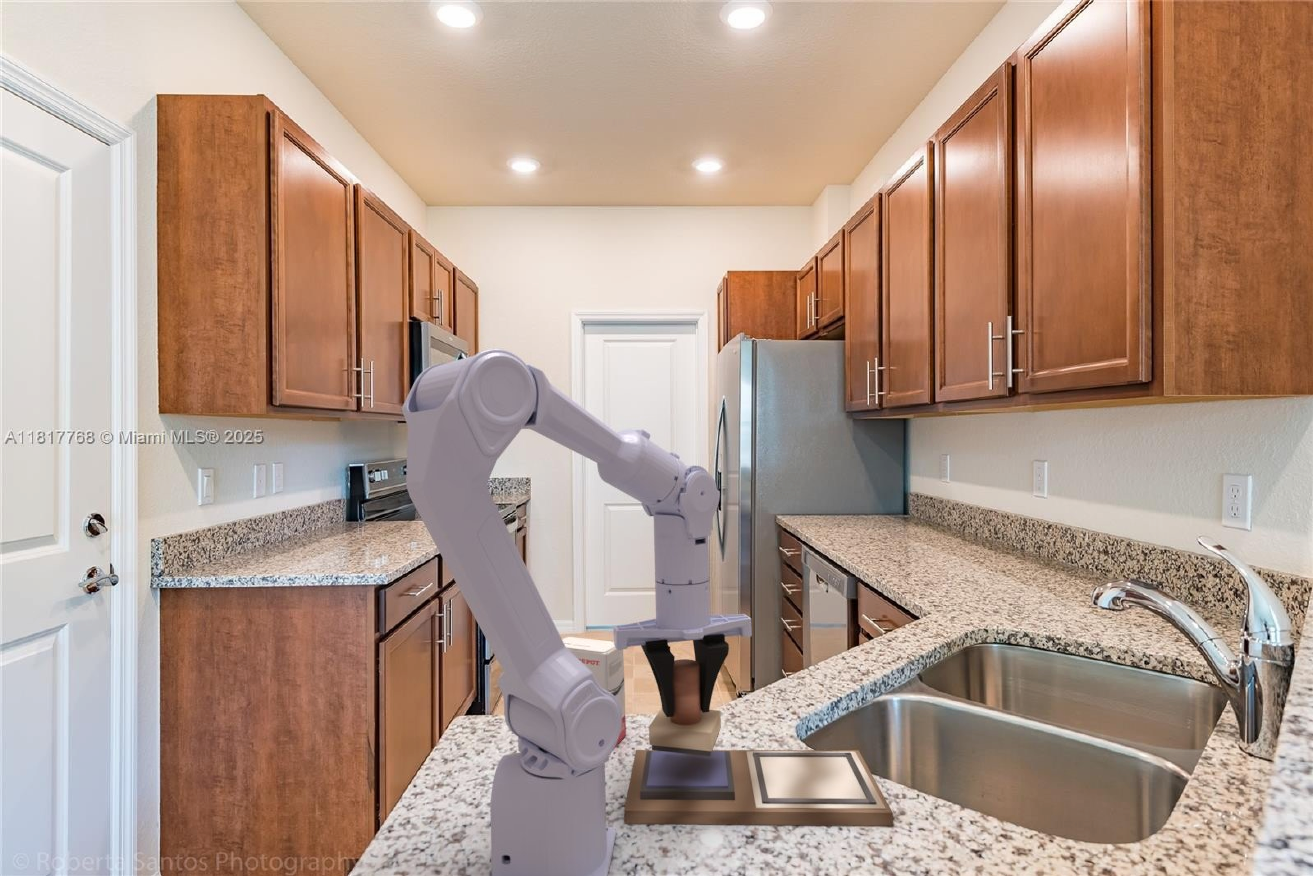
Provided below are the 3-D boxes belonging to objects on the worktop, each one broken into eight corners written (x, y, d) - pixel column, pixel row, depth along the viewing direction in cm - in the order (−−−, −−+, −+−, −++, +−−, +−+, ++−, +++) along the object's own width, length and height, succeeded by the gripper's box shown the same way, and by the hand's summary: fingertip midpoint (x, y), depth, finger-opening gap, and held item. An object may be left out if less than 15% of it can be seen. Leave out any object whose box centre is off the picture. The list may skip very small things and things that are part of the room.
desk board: (624, 823, 58) (623, 799, 59) (636, 760, 70) (635, 740, 70) (893, 826, 57) (892, 801, 57) (858, 761, 69) (858, 740, 69)
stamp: (649, 750, 63) (647, 671, 63) (663, 727, 68) (661, 654, 68) (711, 757, 61) (709, 675, 61) (721, 733, 66) (718, 658, 66)
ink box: (627, 735, 77) (625, 640, 77) (608, 753, 72) (606, 652, 73) (569, 725, 80) (567, 634, 81) (547, 742, 76) (545, 645, 76)
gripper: (621, 593, 59) (624, 737, 59) (762, 582, 63) (765, 717, 62) (609, 579, 66) (611, 708, 65) (736, 570, 69) (739, 692, 69)
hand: (685, 711), depth 64 cm, fingers closed on stamp, 3 cm apart
